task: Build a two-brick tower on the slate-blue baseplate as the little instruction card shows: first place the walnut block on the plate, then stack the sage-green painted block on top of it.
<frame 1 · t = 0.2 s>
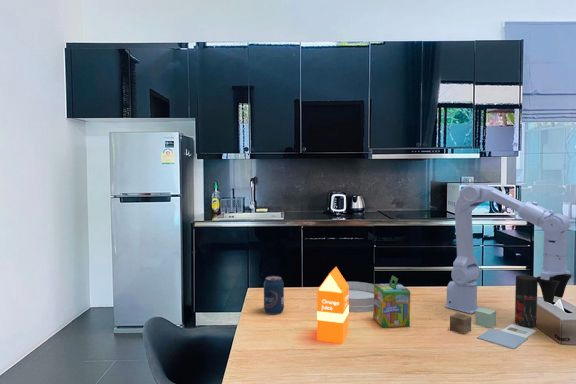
hand: (553, 299, 122), 10 cm above the table, fingers open, 7 cm apart
instruction card: (518, 331, 123), on the table
dish: (354, 303, 152), on the table
block walnut: (460, 330, 124), on the table
baseplate: (502, 338, 118), on the table
soda can: (274, 312, 142), on the table
block sage: (485, 324, 129), on the table
chalk box: (391, 322, 131), on the table
deodorant: (525, 324, 129), on the table
orange juice: (333, 336, 121), on the table
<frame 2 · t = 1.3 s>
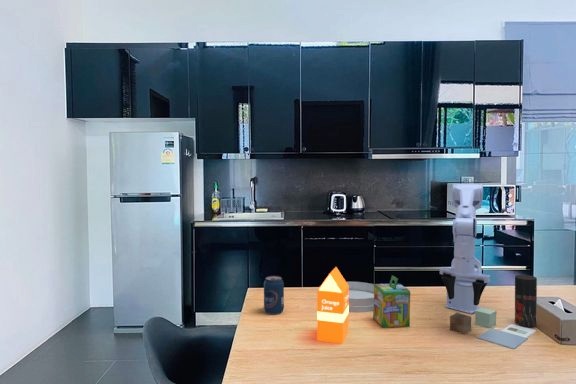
hand: (463, 301, 124), 9 cm above the table, fingers open, 7 cm apart
nothing on the table moved.
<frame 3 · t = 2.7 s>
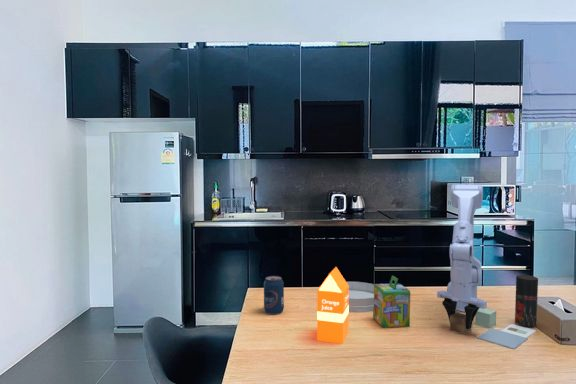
hand: (460, 325, 124), 1 cm above the table, fingers closed on block walnut, 4 cm apart
block walnut: (460, 330, 124), on the table, touching gripper
everything else where it was.
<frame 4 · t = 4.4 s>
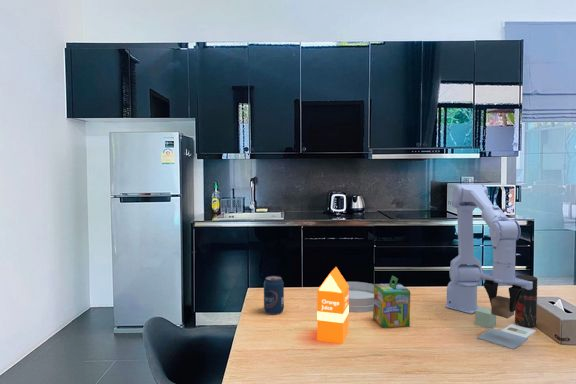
hand: (502, 308, 118), 9 cm above the table, fingers closed on block walnut, 4 cm apart
block walnut: (502, 314, 117), point 7 cm above the table, touching gripper
everything else where it was.
when the fingers open (3 cm above the table, at t = 5.9 s): block walnut stays where it is, resting on baseplate.
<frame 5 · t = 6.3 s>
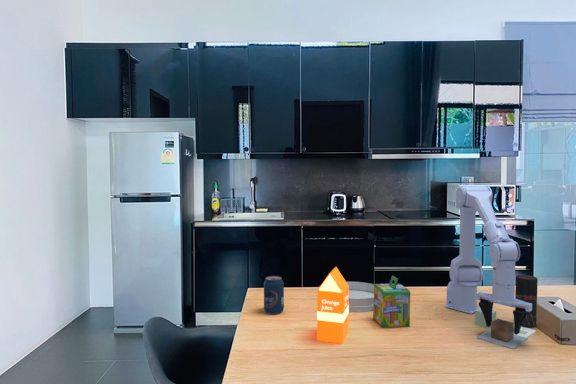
hand: (502, 329, 118), 3 cm above the table, fingers open, 7 cm apart
block walnut: (502, 337, 118), resting on baseplate
everything else where it was.
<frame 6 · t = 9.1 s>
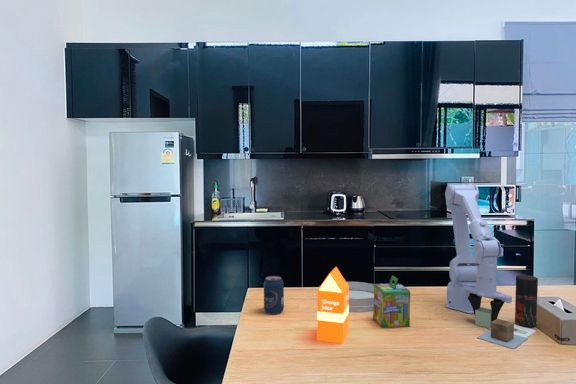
hand: (485, 320, 129), 1 cm above the table, fingers closed on block sage, 4 cm apart
block sage: (485, 324, 129), on the table, touching gripper
everything else where it was.
when the fingers open (7 cm above the table, at t = 11.8 s): block sage drops 1 cm, resting on block walnut.
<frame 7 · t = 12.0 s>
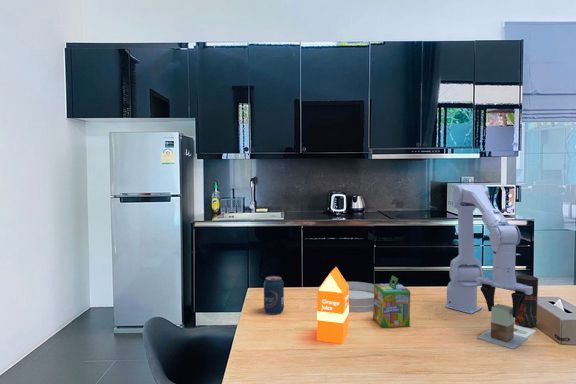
hand: (502, 313, 118), 7 cm above the table, fingers open, 6 cm apart
block walnut: (502, 337, 118), resting on baseplate, touching block sage
block sage: (502, 322, 118), point 5 cm above the table, touching block walnut
everything else where it was.
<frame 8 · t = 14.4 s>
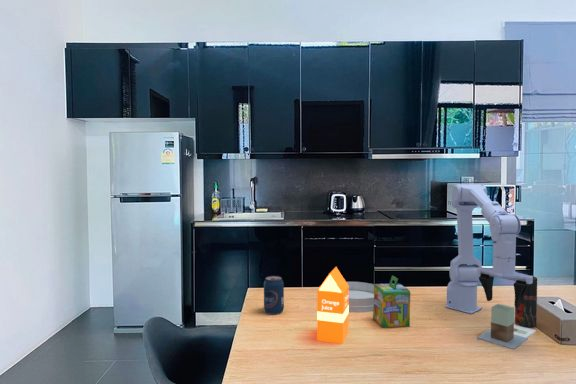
hand: (503, 303, 117), 10 cm above the table, fingers open, 7 cm apart
nothing on the table moved.
at the end: block walnut inside the target area on the baseplate (0.2 cm from its centre), point 0.3 cm above the baseplate's base; block sage 0.1 cm off-centre on the block walnut, point 4.5 cm above the block walnut's base; block sage tilted 0° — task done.
